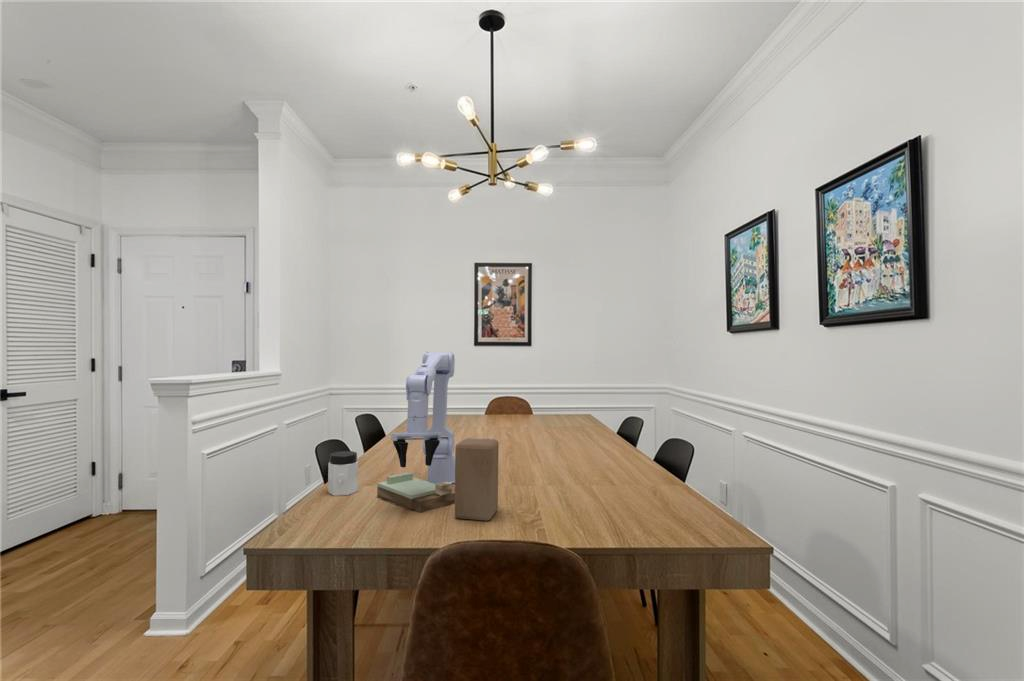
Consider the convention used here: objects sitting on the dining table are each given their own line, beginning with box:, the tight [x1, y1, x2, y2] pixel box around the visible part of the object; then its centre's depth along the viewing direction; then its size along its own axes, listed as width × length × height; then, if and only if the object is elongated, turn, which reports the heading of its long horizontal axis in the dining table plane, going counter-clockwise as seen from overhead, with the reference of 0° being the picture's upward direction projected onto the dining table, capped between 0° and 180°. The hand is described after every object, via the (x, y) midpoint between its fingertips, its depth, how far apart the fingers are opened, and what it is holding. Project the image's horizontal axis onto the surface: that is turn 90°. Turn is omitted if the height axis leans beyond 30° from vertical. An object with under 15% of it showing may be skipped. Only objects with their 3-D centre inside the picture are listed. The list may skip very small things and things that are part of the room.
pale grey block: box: [435, 482, 453, 496], centre depth 148 cm, size 4×3×3 cm, turn 135°
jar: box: [327, 450, 359, 497], centre depth 160 cm, size 9×8×12 cm
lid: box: [377, 471, 435, 499], centre depth 153 cm, size 12×18×3 cm, turn 45°
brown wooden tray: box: [376, 486, 455, 513], centre depth 154 cm, size 18×21×3 cm
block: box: [454, 437, 499, 522], centre depth 139 cm, size 10×10×20 cm
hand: (415, 466), depth 143 cm, fingers open, 7 cm apart
